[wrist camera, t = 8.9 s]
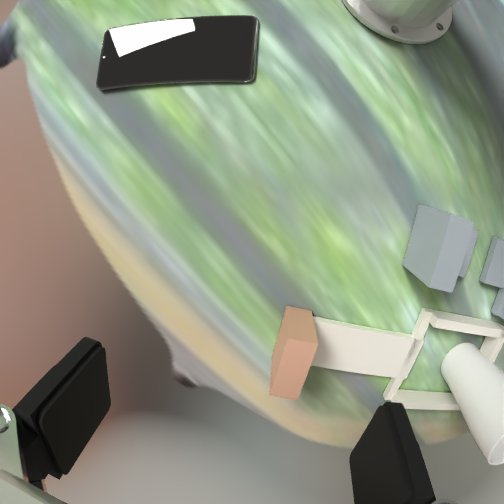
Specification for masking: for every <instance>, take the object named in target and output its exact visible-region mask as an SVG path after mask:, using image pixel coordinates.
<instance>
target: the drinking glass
mask: <svg viewBox="0 0 504 504" xmlns="http://www.w3.org/2000/svg"><path fill="white" fill-rule="evenodd" d="M441 374H442V376H443V378H444V379H445V381H446V382H447V384H448V386H449V388H450V390H451V392H452V394H453V396H454V398H455V400H456V402H457V404H458V406H459V408H460V410H461V412H462V415H463V417H464V419H465V421H466V423H467V426H468V428H469V430H470V432H471V434H472V436H473V438H474V440H475V442H476V444H477V446H478V447H479V449H480V451H481V452H482V454H483V456H484V457H485V459H486V460H487V462H488V463H489V464H490V465H500V464H502V463H504V371H503V370H501V369H500V368H499V367H498V366H497V365H496V364H494V363H493V362H492V361H491V360H490V359H489V358H487V357H486V356H485V355H484V354H483V353H482V352H481V351H480V350H479V349H478V348H477V347H476V346H475V345H473V344H472V343H467V342H466V343H460V344H458V345H456V346H455V347H453V348H452V349H451V350H450V351H449V352H448V353H447V354H446V356H445V357H444V359H443V361H442V364H441Z"/></svg>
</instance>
